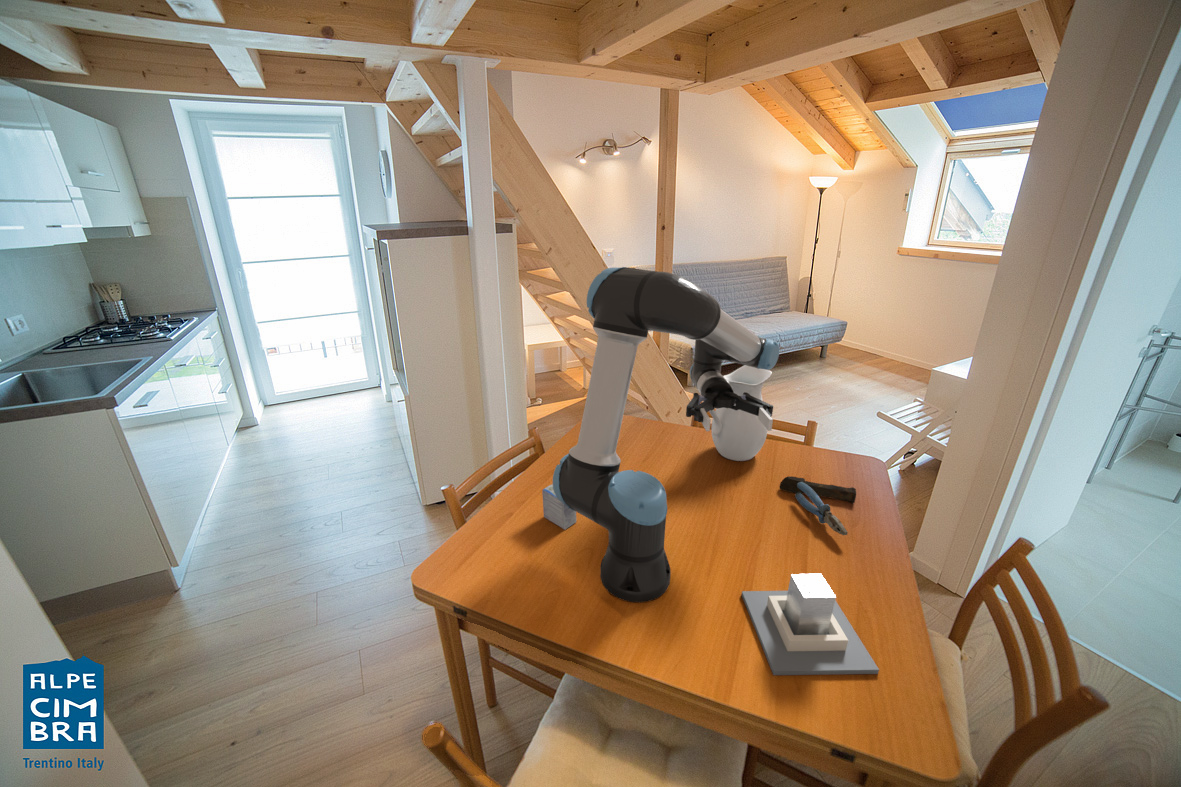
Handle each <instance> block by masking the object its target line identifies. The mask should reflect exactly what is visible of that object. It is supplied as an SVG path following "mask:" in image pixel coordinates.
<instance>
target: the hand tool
mask: <svg viewBox="0 0 1181 787" xmlns="http://www.w3.org/2000/svg"><path fill="white" fill-rule="evenodd" d="M799 482H803V483H805V484H807V485H808V486H809V487H811V488H812V489H813V490H814V491H815V492H816V494H817V495H818V496H819V497H822V498H823V497H824V498H831V499H836V500H840V501H848V502H850V503H851V504H853V505H854V503H855V502H856V498H857V489H856V488H855V487H852V486H851V487H844V486H838V485H834V484H827V483H818V482H812V481H808V480H806V479H805V478H803V477H796V476H789V475H788V476H785V477H784V478H783V479H782V480H781V481H780V483H779V489H780V490H782V491H785V492H788V493H791V494H794V495H795V494H796V493H798V492H800V493H801V494H802V495H803V494H805V493H804V492H803V491H802V490H801V489H799V488H798V487H797V483H799ZM805 495H806V494H805Z"/></svg>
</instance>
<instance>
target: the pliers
mask: <svg viewBox="0 0 1181 787" xmlns="http://www.w3.org/2000/svg"><path fill="white" fill-rule="evenodd" d="M797 487H798V488H799V489H801V490H802V491H803V492H804V493H805V495H806V496H807V497H808V498H809V500H810V501H811V502H812V503H813V504H812V503H811V502H810V501H809V500H808V499H807V498H806V497H805V496H804V495H803V494H801V493H800V492H798V493H796V494H795V493H794V498H795V499H796V500H797V502H798V503H799V505H801V507H803V509H805V510H807V511H808V512H810V513H811V514H813V515H815V516H816V517H818V522H819V523H820V524H827V525H828V527H829V528H830V529H832V531H833V532H836V533H838V534H840V535H842V536H848V534H849V533H848V530H846V528H845V526H844V524H843V523H842V522H841V520H840V519H839V518H838V517H837V516H836V515H835V514H833V513H832V511H831V506H830V505H829V504H828V503H827V504H825V503H824V502H823V501H822V499H821V498H820V496H818V495H817V494H816V492H815V491H814V490H813V489H812V488H811V487H809V486H808V485H807V484H805V483H803V482H799V483H797Z"/></svg>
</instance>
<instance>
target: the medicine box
mask: <svg viewBox="0 0 1181 787" xmlns="http://www.w3.org/2000/svg"><path fill="white" fill-rule="evenodd" d="M541 491H542V494H541V495H542V507H543V508H542V509H543V517H544V518H545V519H547V520H548V521H550V522H551V523H553V524H555V525H557V526H558V527H560V528H561V529H563V530H567V529H568V528H570V527H571V526H573V525H574V524H576V523H577V512H576V511H573V510H571V509H570V508H568V507H567V506H566V505H565V504H563V503H562V502H561V501H559V500H558V498H557V497H556V495H555V493H554V490H553V483H552V484H549V485H548V486H546V487H545V488H544V487H543V489H542V490H541Z"/></svg>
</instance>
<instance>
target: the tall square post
mask: <svg viewBox="0 0 1181 787" xmlns="http://www.w3.org/2000/svg"><path fill="white" fill-rule="evenodd" d="M788 583H789V584H788V589H787V591H788V593H787V599H786V604H785V609H784V616H785V618H786V620H787V622H788V624H789V626H790V629H791V631H792V633H793V635H827V632H828V628H829V624H830V620H831V616H832V611H833V607H834V603H835V600H837V596H836V594H835V593H834V592H833V590H832V589H831V587H830V585H829V584H828V582H827V581H826V579H825V578H824V576H823V575H822V573H799V574H796V573H795V574H793V573H792V574H790V579H789V582H788Z"/></svg>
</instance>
